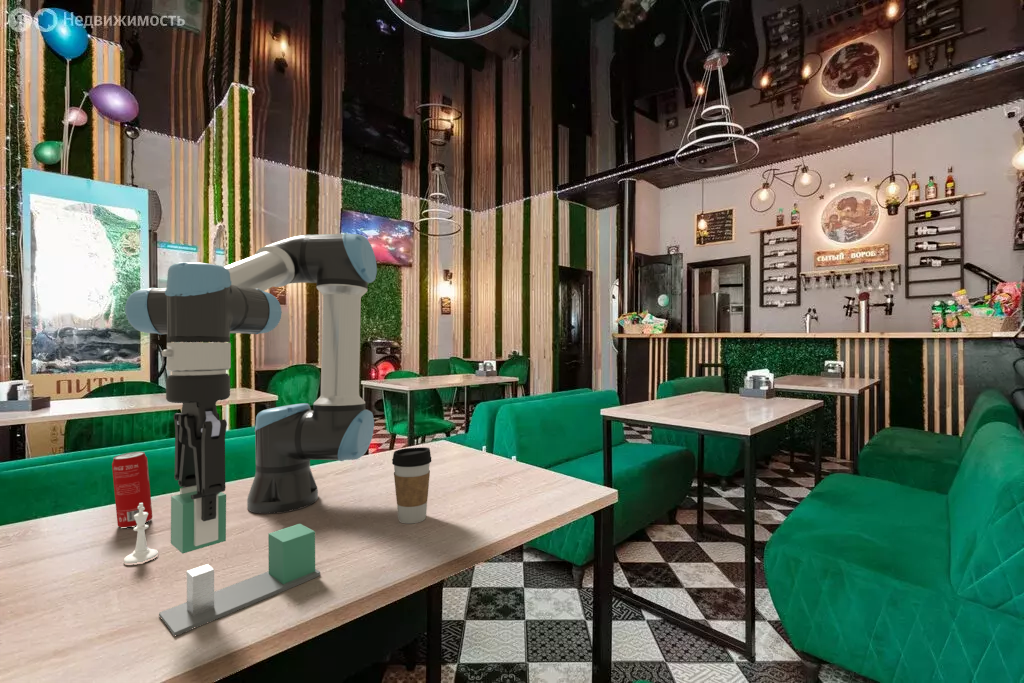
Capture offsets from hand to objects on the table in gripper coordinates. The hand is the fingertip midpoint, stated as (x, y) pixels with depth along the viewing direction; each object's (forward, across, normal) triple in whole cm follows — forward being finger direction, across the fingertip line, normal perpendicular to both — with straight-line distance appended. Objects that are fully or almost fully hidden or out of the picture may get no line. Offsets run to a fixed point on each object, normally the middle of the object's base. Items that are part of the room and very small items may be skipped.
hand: (198, 536), depth 65 cm
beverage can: (+11, -48, +2) cm, 49 cm away
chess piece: (+11, -27, -1) cm, 29 cm away
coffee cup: (+11, -4, +41) cm, 43 cm away
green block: (+1, 0, 0) cm, 1 cm away
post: (+11, 0, 0) cm, 11 cm away
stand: (+11, 0, +6) cm, 13 cm away
